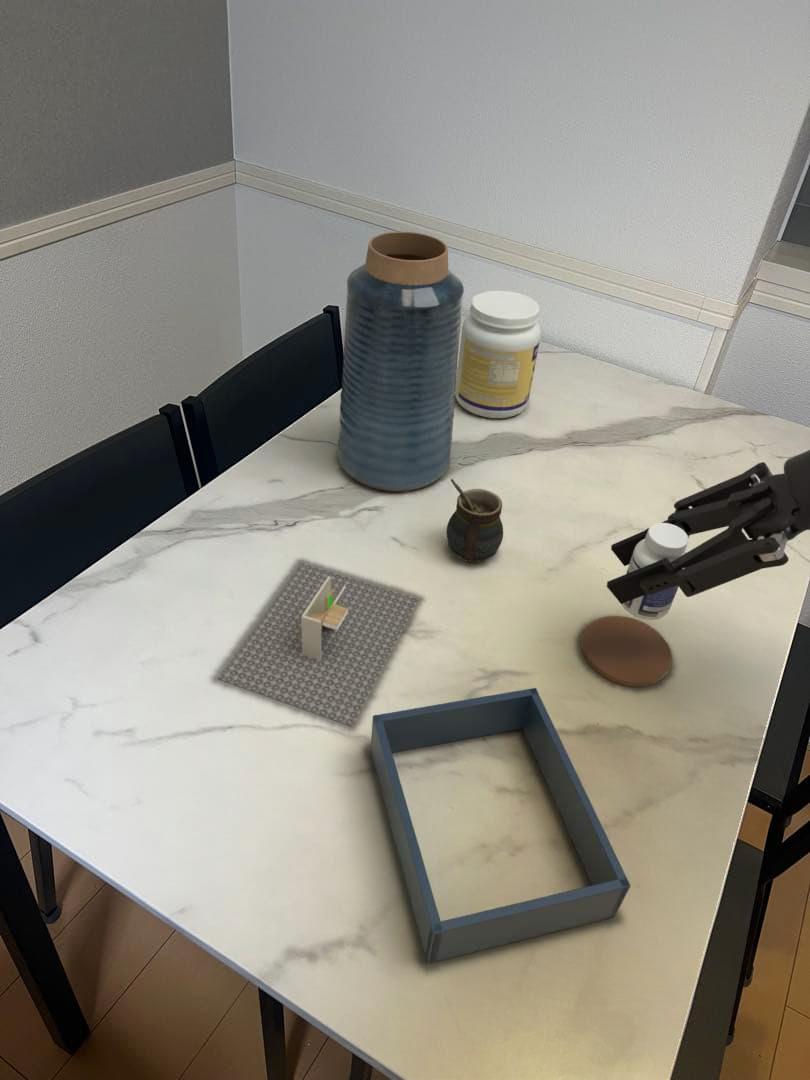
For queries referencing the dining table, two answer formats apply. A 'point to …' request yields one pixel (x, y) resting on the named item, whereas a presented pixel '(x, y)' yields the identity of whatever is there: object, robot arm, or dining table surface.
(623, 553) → the robot arm
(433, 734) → the blue bottomless tray frame
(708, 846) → the dining table surface
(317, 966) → the dining table surface
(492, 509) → the mate gourd
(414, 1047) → the dining table surface
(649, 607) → the pill bottle
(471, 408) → the supplement tub
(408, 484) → the vase
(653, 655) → the coaster
